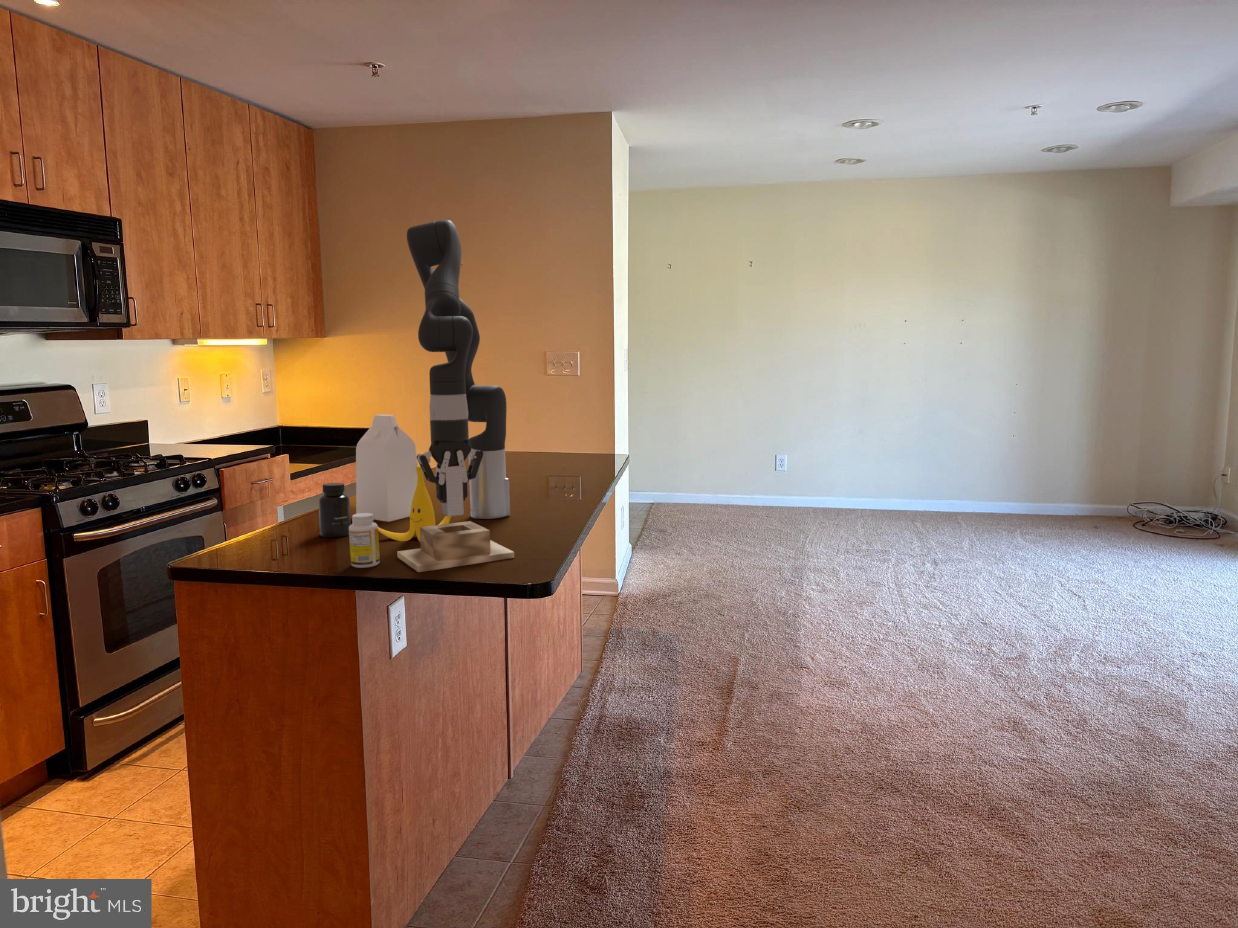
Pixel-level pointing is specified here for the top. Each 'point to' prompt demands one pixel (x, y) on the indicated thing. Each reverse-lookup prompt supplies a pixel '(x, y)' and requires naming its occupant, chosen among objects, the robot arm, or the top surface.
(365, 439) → the milk
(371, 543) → the supplement bottle
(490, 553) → the stone box on board
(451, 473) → the gray rectangular block
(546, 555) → the top surface
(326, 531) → the supplement bottle
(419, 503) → the banana peel
